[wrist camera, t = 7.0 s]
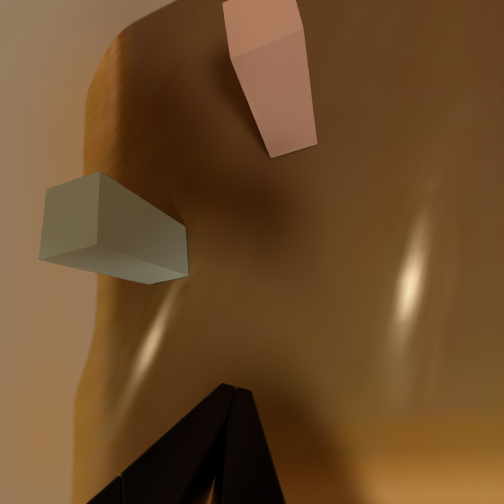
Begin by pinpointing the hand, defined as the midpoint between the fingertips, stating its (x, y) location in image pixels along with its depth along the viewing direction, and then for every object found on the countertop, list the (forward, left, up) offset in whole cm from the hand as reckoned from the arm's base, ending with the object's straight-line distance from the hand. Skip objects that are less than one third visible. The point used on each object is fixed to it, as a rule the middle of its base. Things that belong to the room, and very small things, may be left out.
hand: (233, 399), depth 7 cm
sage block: (+13, +4, -12) cm, 19 cm away
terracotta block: (+14, -12, -12) cm, 22 cm away
